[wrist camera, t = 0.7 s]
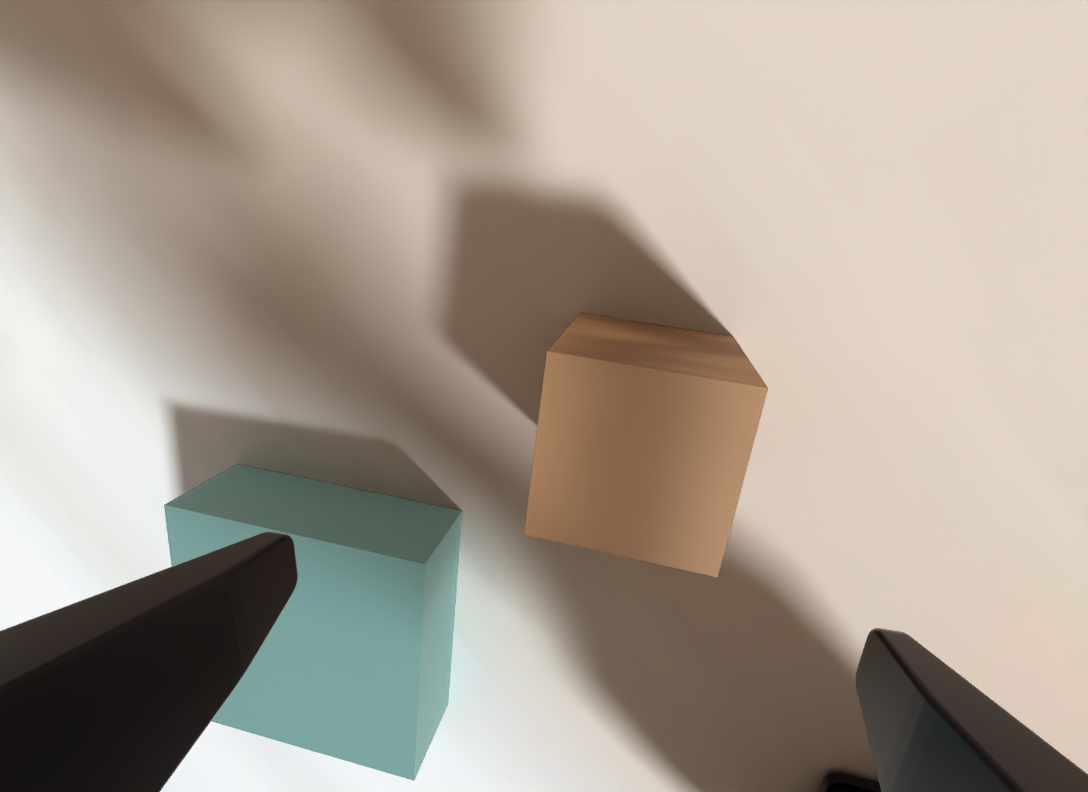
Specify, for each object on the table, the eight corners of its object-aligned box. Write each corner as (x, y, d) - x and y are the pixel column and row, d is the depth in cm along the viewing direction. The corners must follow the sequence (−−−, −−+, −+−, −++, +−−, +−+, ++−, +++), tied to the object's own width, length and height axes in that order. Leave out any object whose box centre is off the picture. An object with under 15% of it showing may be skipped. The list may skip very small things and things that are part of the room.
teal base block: (465, 506, 22) (425, 564, 18) (450, 697, 25) (414, 780, 21) (243, 460, 23) (164, 505, 20) (256, 646, 27) (190, 715, 23)
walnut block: (733, 336, 18) (768, 388, 12) (700, 474, 19) (717, 577, 14) (580, 312, 18) (546, 351, 13) (561, 447, 20) (523, 534, 14)
